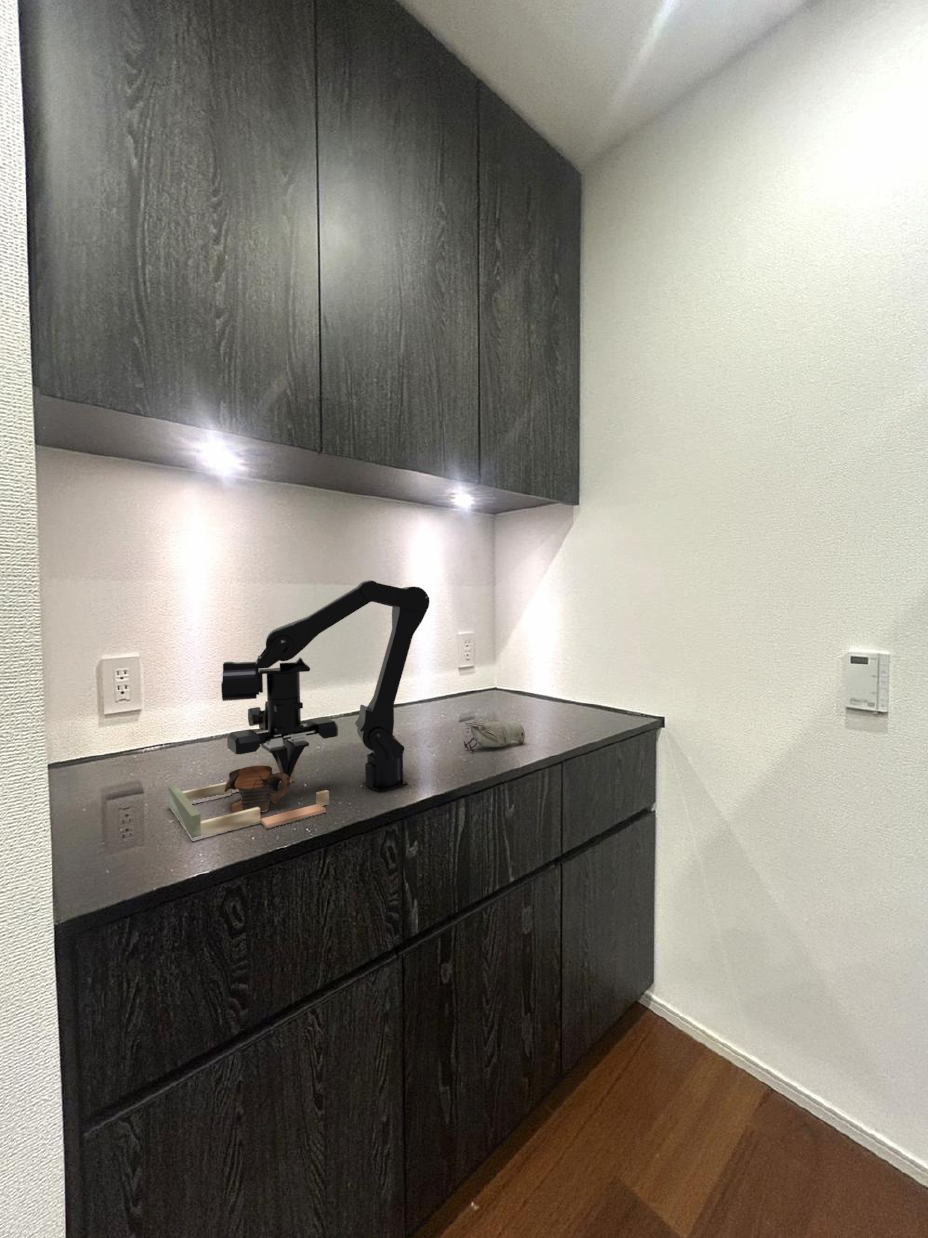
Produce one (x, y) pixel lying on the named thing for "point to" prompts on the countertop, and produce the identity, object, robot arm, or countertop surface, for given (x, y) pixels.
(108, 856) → the countertop surface
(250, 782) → the pottery mug
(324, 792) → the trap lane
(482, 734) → the decorative bird
